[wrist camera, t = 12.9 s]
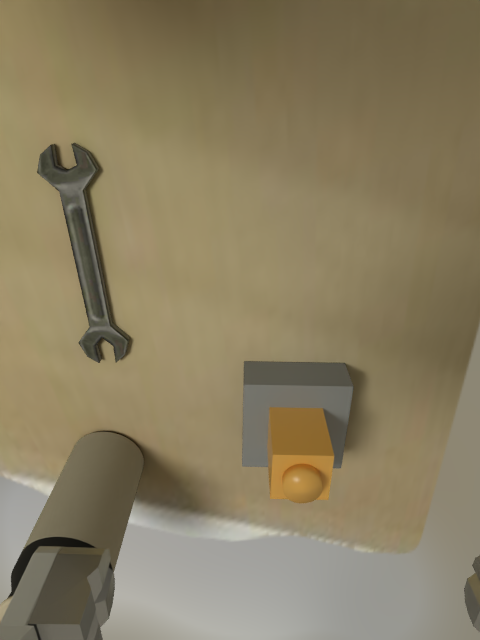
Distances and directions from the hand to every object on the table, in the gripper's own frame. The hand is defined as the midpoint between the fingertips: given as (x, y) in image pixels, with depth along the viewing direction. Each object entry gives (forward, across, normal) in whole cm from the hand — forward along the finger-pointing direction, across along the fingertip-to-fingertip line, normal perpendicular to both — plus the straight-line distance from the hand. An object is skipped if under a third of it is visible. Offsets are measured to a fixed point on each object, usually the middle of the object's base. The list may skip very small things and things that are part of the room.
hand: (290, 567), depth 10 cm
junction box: (+31, -4, +19) cm, 37 cm away
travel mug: (+31, +16, +27) cm, 44 cm away
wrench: (+32, +15, +4) cm, 35 cm away
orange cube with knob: (+27, -4, +19) cm, 33 cm away
